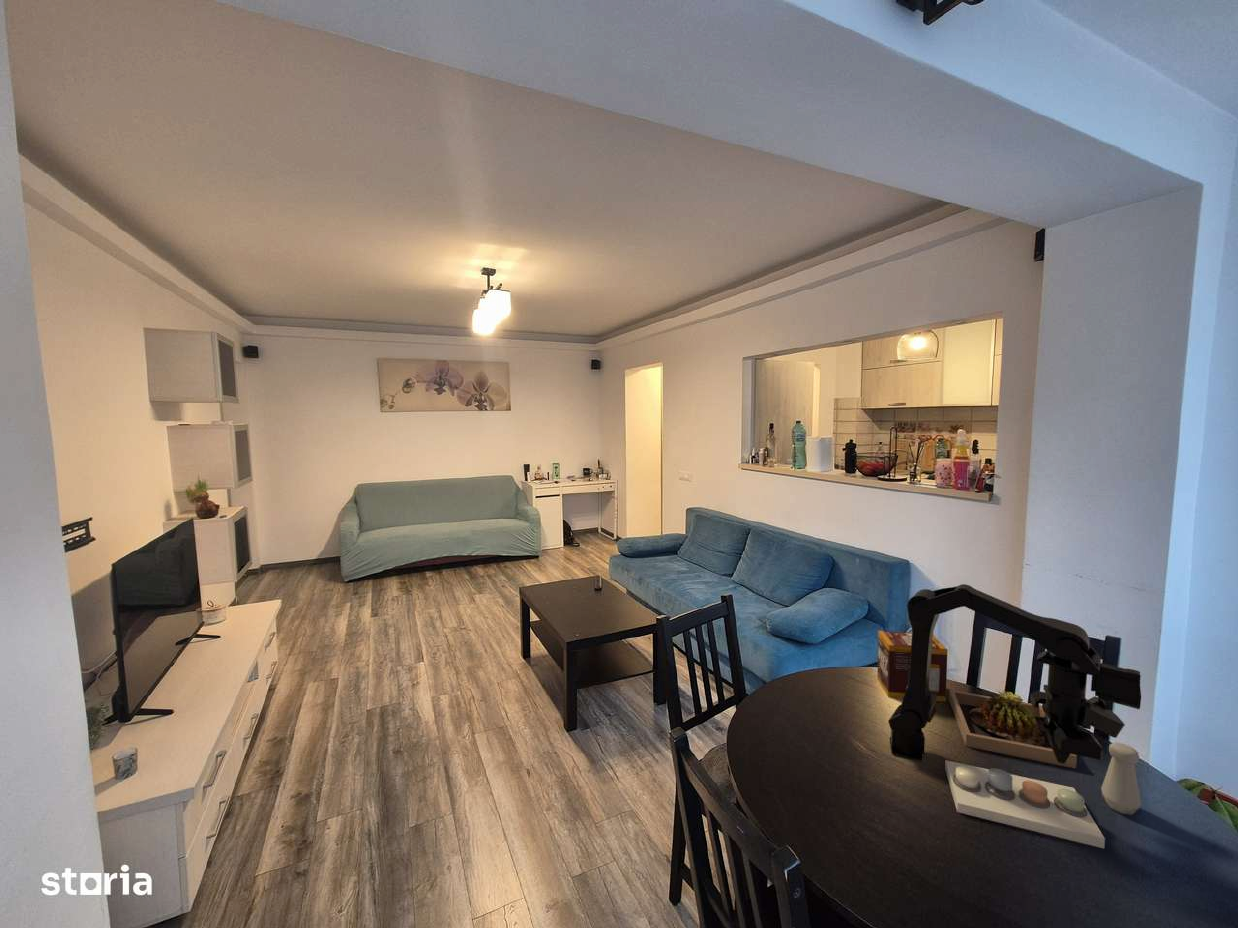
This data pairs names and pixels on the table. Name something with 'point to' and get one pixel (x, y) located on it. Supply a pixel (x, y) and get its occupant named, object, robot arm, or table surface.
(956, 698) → the planter tray
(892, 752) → the robot arm
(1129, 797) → the salt shaker
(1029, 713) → the cactus
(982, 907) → the table surface
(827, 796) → the table surface
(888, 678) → the supplement box
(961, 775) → the ivory button
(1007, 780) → the slate button
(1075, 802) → the sage button
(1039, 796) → the terracotta button
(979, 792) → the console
